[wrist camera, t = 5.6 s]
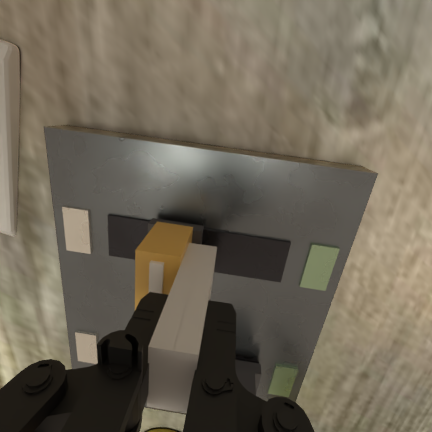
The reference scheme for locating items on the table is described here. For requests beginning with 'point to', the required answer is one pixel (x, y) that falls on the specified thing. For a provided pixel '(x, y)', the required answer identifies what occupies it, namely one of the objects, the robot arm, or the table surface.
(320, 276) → the breaker panel
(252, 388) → the lever
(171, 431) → the vase
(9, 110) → the light switch
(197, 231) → the lever
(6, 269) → the table surface
